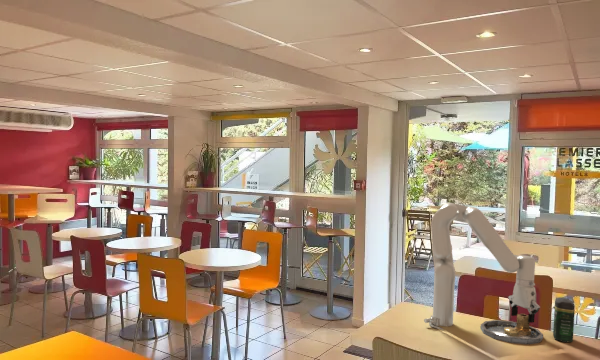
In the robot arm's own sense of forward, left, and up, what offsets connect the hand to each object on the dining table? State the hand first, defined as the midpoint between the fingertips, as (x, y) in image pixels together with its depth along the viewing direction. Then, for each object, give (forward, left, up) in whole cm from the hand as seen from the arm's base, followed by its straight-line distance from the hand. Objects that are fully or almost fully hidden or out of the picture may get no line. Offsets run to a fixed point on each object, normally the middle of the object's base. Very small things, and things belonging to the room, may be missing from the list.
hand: (522, 318), depth 216 cm
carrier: (-7, 0, -8) cm, 10 cm away
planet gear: (0, 0, -6) cm, 6 cm away
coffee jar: (+15, -9, -8) cm, 19 cm away
